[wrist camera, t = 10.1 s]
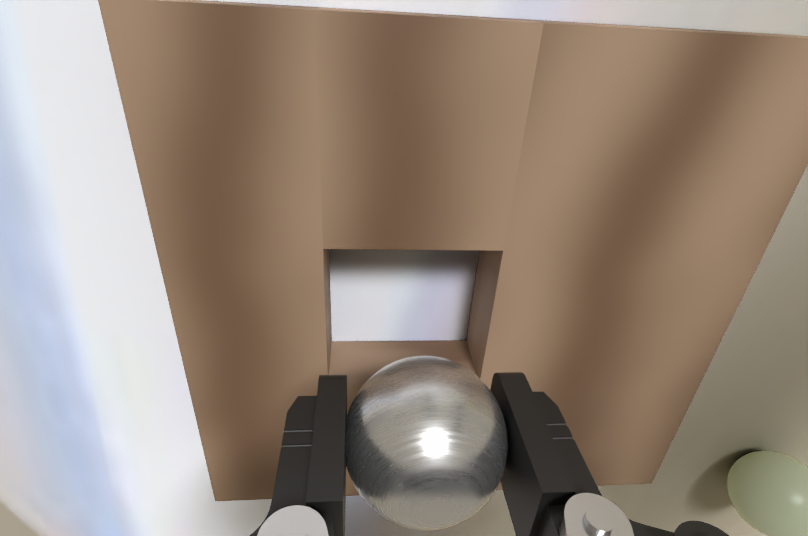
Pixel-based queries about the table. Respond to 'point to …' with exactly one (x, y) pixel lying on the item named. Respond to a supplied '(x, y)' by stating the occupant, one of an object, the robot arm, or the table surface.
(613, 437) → the hole plate
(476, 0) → the table surface
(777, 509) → the sage ball
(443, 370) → the steel ball
